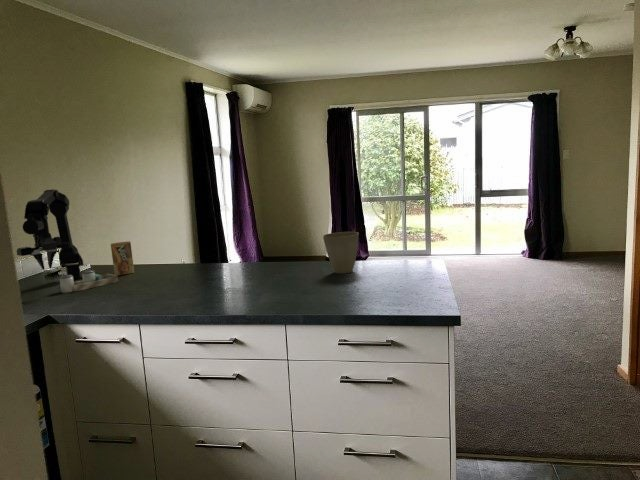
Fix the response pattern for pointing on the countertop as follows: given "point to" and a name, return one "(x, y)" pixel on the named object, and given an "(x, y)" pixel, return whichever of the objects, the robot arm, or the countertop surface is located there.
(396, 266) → the countertop surface
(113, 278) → the lane
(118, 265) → the candy box
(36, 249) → the robot arm
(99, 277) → the follower
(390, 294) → the countertop surface
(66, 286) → the jar
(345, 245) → the plant pot
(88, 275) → the jar in lane
